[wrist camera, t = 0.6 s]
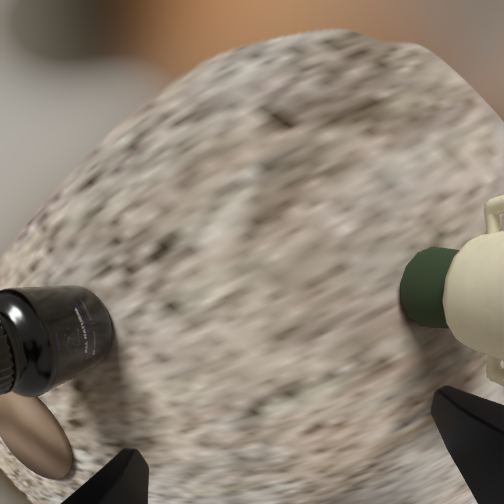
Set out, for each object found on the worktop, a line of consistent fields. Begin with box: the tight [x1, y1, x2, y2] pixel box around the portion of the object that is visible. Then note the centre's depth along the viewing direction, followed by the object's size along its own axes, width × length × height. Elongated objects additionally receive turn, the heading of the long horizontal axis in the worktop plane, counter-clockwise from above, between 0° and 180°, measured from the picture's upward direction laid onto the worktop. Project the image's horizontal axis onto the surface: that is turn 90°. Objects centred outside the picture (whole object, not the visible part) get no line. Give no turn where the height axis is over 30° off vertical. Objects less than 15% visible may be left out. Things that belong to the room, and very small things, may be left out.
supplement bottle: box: [0, 286, 112, 397], centre depth 15 cm, size 7×7×12 cm
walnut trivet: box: [0, 391, 73, 479], centre depth 20 cm, size 12×12×1 cm
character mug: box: [400, 195, 504, 386], centre depth 14 cm, size 11×7×13 cm, turn 5°
